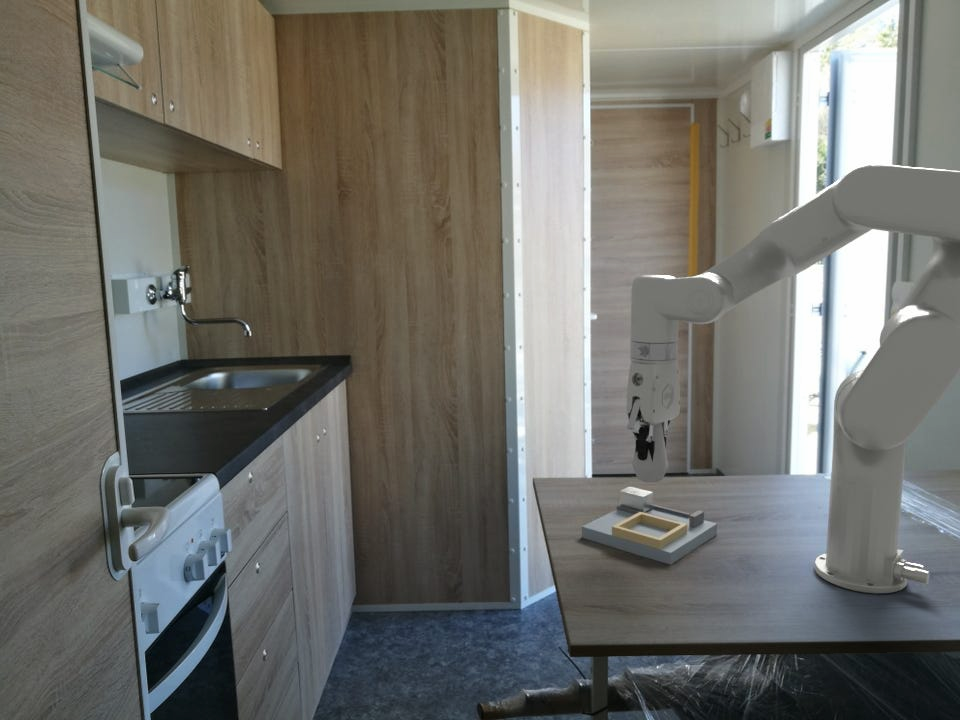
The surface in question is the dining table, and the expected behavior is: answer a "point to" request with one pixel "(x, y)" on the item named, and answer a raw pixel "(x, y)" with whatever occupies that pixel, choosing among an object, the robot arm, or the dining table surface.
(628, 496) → the cover
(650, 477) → the salt shaker
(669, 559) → the base
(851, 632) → the dining table surface
